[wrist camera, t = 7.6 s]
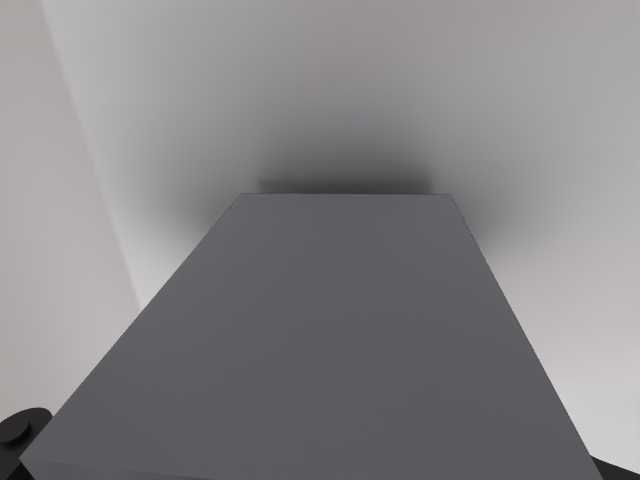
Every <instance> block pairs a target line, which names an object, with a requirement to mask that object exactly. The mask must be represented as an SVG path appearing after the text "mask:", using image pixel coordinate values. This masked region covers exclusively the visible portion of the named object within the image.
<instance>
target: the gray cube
mask: <svg viewBox="0 0 640 480" xmlns="http://www.w3.org/2000/svg"><path fill="white" fill-rule="evenodd" d="M19 459H20V461H21V462H22V463H23V465H24V466H25V467H26V468H27V470H28V471H29V472H30V474H31V475H32V476H33V477H34V479H35V480H603V478H602V476H601V475H600V473H599V471H598V469H597V467H596V465H595V463H594V462H593V460H592V458H591V456H590V454H589V452H588V450H587V449H586V447H585V445H584V443H583V441H582V439H581V437H580V435H579V434H578V432H577V430H576V428H575V426H574V424H573V422H572V421H571V419H570V417H569V415H568V413H567V411H566V409H565V408H564V406H563V404H562V402H561V400H560V398H559V396H558V394H557V393H556V391H555V389H554V387H553V385H552V383H551V381H550V380H549V378H548V376H547V374H546V372H545V370H544V368H543V367H542V365H541V363H540V361H539V359H538V357H537V355H536V354H535V352H534V350H533V348H532V346H531V344H530V342H529V340H528V339H527V337H526V335H525V333H524V331H523V329H522V327H521V326H520V324H519V322H518V320H517V318H516V316H515V314H514V313H513V311H512V309H511V307H510V305H509V303H508V301H507V299H506V298H505V296H504V294H503V292H502V290H501V288H500V286H499V285H498V283H497V281H496V279H495V277H494V275H493V273H492V272H491V270H490V268H489V266H488V264H487V262H486V260H485V259H484V257H483V255H482V253H481V251H480V249H479V247H478V245H477V244H476V242H475V240H474V238H473V236H472V234H471V232H470V231H469V229H468V227H467V225H466V223H465V221H464V219H463V218H462V216H461V214H460V212H459V210H458V208H457V206H456V204H455V203H454V201H453V199H452V197H451V195H438V194H264V193H241V194H240V195H239V197H238V198H237V199H236V200H235V201H234V203H233V204H232V205H231V206H230V207H229V209H228V210H227V211H226V212H225V213H224V214H223V216H222V217H221V218H220V219H219V220H218V222H217V223H216V224H215V225H214V226H213V228H212V229H211V230H210V231H209V232H208V234H207V235H206V236H205V237H204V238H203V239H202V241H201V242H200V243H199V244H198V245H197V247H196V248H195V249H194V250H193V251H192V253H191V254H190V255H189V256H188V257H187V259H186V260H185V261H184V262H183V263H182V264H181V266H180V267H179V268H178V269H177V270H176V272H175V273H174V274H173V275H172V276H171V278H170V279H169V280H168V281H167V282H166V283H165V285H164V286H163V287H162V288H161V289H160V291H159V292H158V293H157V294H156V295H155V297H154V298H153V299H152V300H151V301H150V303H149V304H148V305H147V306H146V307H145V308H144V310H143V311H142V312H141V313H140V314H139V316H138V317H137V318H136V319H135V320H134V322H133V323H132V324H131V325H130V326H129V328H128V329H127V330H126V331H125V332H124V333H123V335H122V336H121V337H120V338H119V339H118V341H117V342H116V343H115V344H114V345H113V347H112V348H111V349H110V350H109V351H108V353H107V354H106V355H105V356H104V357H103V359H102V360H101V361H100V362H99V363H98V365H97V366H96V367H95V368H94V369H93V371H92V372H91V373H90V374H89V375H88V376H87V378H86V379H85V380H84V381H83V382H82V383H81V385H80V386H79V387H78V388H77V389H76V391H75V392H74V393H73V394H72V395H71V397H70V398H69V399H68V400H67V401H66V403H65V404H64V405H63V406H62V407H61V408H60V410H59V411H58V412H57V413H56V415H55V416H54V417H53V418H52V419H51V420H50V422H49V423H48V424H47V425H46V426H45V427H44V429H43V430H42V431H41V432H40V433H39V435H38V436H37V437H36V438H35V439H34V441H33V442H32V443H31V444H30V445H29V447H28V448H27V449H26V450H25V451H24V452H23V454H22V455H21V456H20V457H19Z"/></svg>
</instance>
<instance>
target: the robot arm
mask: <svg viewBox="0 0 640 480" xmlns="http://www.w3.org/2000/svg"><path fill="white" fill-rule="evenodd" d="M52 418H53V416H52V414H51V413H50V411H49V410H47V409H45V408H30V409H27V410H23V411H20V412H18V413H16V414H14V415H12V416H10V417H8V418H7V419H5V420H4V421H2V422H1V423H0V480H35V479H34V477H33V476H32V475H31V474H30V472H29V471H28V470H27V468H26V467H25V466H24V465H23V463H22V462H21V461H20V459H19V457H20V456H21V455H22V454H23V452H24V451H25V450H26V449H27V448H28V447H29V445H30V444H31V443H32V442H33V441H34V439H35V438H36V437H37V436H38V435H39V433H40V432H41V431H42V430H43V429H44V427H45V426H46V425H47V424H48V423H49V422H50V420H51V419H52ZM590 456H591V455H590ZM591 458H592V460H593V462H594V463H595V465H596V467H597V469H598V471H599V473H600V475H601V476H602V478H603V480H640V474H637V473H634V472H632V471H629V470H626V469H623V468H621V467H618V466H615V465H612V464H609V463H607V462H604V461H602V460H599V459H597V458H595V457H593V456H591Z"/></svg>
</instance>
